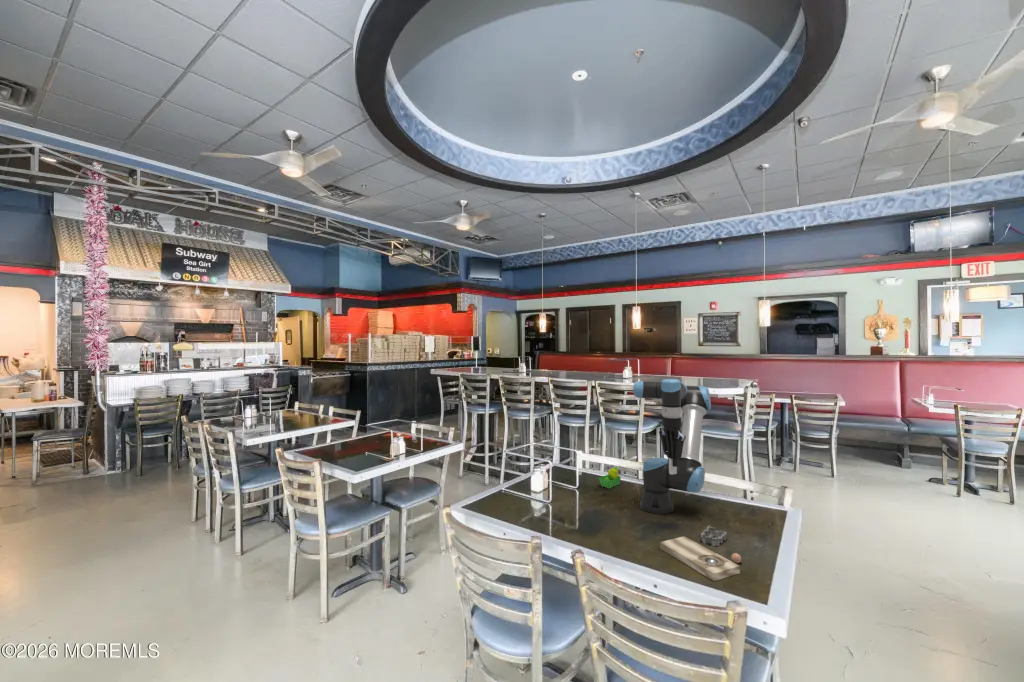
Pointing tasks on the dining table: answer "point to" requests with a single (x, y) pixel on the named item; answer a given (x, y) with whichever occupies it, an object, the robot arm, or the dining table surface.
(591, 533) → the dining table surface
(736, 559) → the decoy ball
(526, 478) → the dining table surface
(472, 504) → the dining table surface
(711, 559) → the steel ball
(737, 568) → the hole plate
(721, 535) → the egg carton
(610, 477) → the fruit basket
